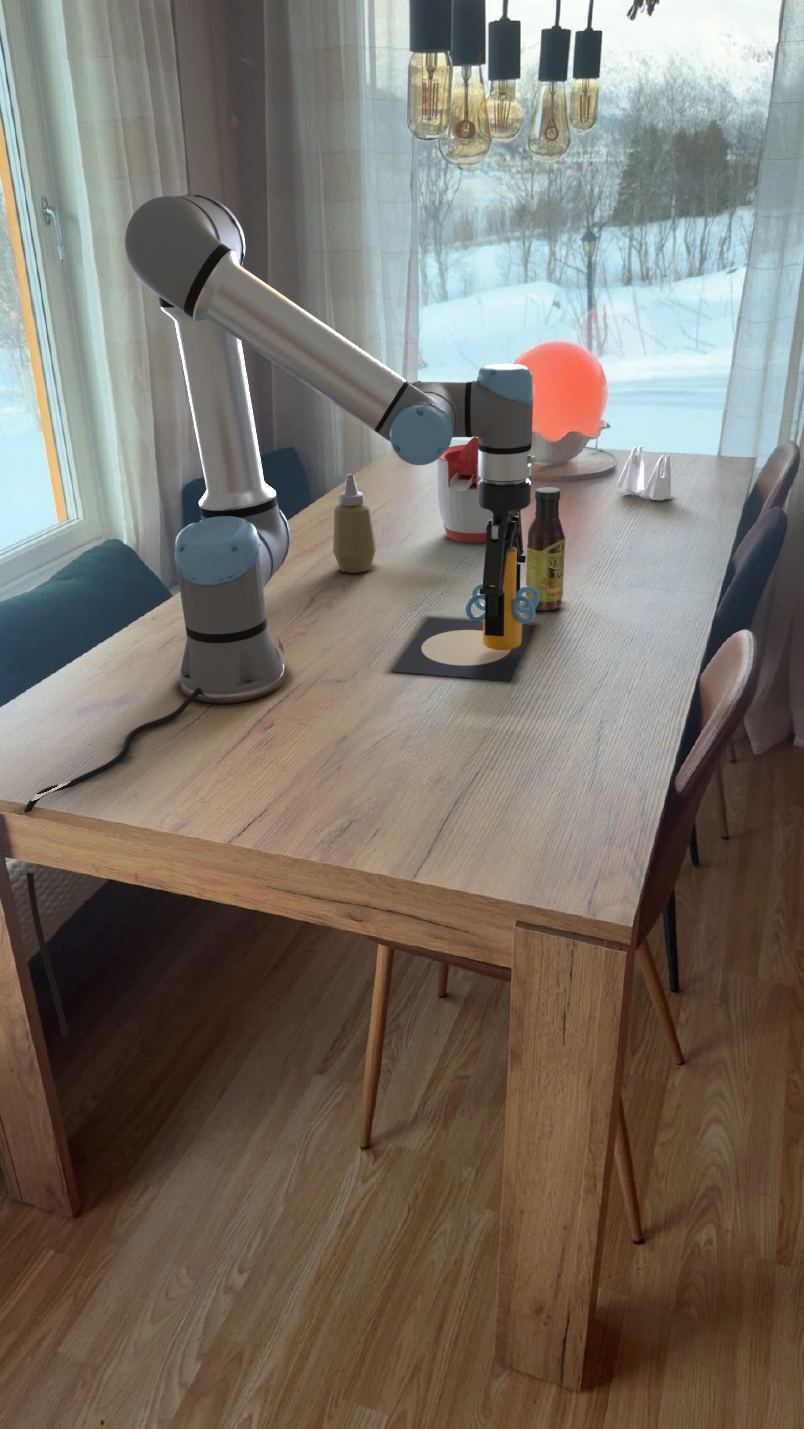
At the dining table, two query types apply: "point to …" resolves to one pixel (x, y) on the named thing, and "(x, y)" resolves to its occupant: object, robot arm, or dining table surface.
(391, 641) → the dining table surface
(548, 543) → the sauce bottle
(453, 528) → the citrus juicer
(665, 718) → the dining table surface
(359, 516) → the squeeze bottle
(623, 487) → the shaker set
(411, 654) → the mat
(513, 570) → the cylinder
